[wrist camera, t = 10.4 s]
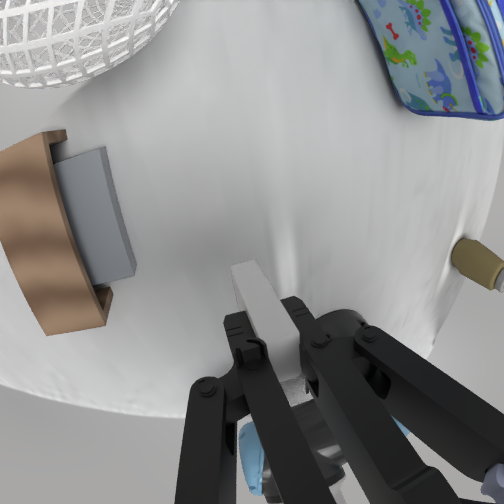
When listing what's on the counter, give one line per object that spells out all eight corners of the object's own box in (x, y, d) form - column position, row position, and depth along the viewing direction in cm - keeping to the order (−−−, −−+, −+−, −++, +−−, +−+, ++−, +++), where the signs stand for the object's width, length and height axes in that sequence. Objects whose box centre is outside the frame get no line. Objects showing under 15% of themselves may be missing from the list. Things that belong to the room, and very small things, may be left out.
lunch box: (327, -42, 22) (427, -101, 3) (381, -38, 22) (479, -72, 4) (389, 116, 34) (517, 139, 16) (433, 103, 35) (544, 123, 17)
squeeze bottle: (443, 266, 51) (503, 311, 35) (456, 230, 48) (522, 271, 32) (460, 268, 53) (515, 309, 38) (472, 236, 50) (531, 272, 35)
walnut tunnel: (113, 294, 35) (105, 325, 29) (59, 305, 34) (46, 336, 28) (65, 129, 25) (41, 132, 19) (7, 154, 24) (-22, 163, 18)
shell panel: (137, 262, 35) (134, 276, 32) (59, 281, 33) (51, 295, 30) (106, 146, 28) (98, 148, 25) (23, 176, 26) (9, 182, 23)
